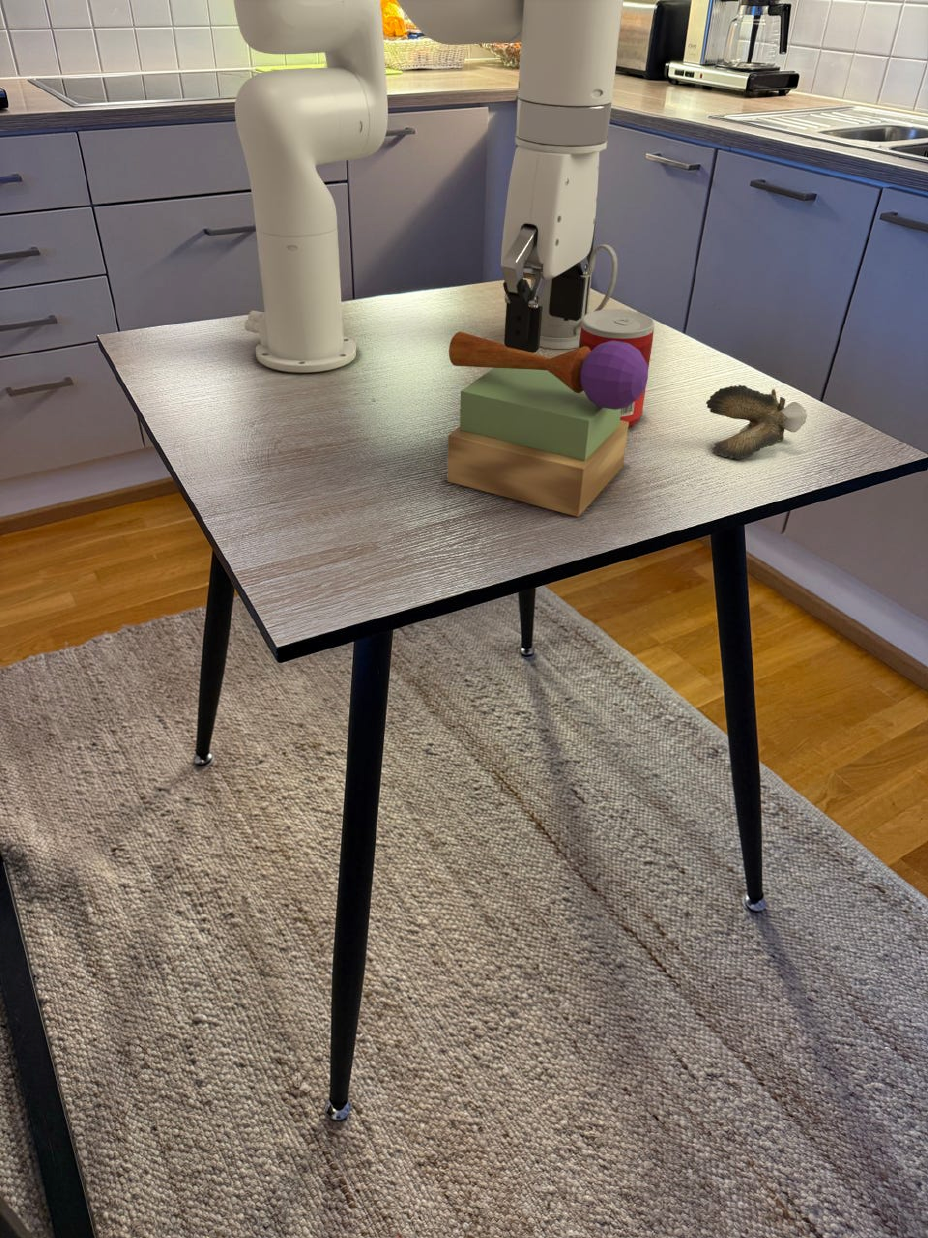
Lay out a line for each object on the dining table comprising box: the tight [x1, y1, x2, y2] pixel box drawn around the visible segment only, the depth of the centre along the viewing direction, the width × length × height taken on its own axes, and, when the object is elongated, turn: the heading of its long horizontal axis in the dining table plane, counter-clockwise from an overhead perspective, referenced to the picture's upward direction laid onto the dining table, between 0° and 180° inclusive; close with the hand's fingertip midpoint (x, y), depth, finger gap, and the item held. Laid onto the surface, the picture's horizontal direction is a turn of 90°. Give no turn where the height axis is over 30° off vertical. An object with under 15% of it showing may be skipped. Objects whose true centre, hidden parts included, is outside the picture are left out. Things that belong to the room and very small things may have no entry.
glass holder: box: [530, 221, 619, 350], centre depth 121 cm, size 9×14×15 cm, turn 36°
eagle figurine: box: [705, 384, 808, 460], centre depth 99 cm, size 8×7×9 cm
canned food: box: [578, 308, 655, 428], centre depth 103 cm, size 8×8×11 cm
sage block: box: [459, 368, 621, 461], centre depth 90 cm, size 13×9×4 cm
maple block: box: [446, 420, 629, 518], centre depth 93 cm, size 14×12×5 cm
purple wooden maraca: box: [448, 331, 649, 410], centre depth 88 cm, size 6×6×20 cm
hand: (543, 332), depth 86 cm, fingers open, 9 cm apart
